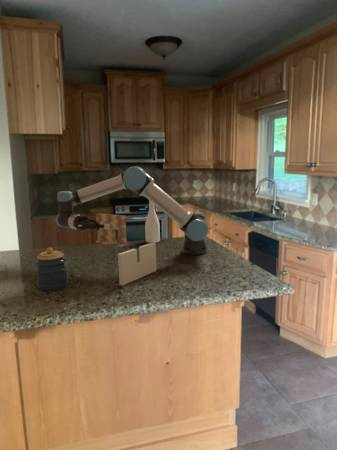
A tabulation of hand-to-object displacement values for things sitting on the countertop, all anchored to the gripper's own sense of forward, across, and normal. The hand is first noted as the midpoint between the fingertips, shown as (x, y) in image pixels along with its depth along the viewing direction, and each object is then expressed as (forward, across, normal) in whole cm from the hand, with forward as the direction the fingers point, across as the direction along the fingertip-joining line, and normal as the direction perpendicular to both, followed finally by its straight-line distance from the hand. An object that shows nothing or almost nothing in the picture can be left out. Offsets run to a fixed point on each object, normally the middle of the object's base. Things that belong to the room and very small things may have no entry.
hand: (111, 226), depth 164 cm
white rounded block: (-22, -59, -23) cm, 67 cm away
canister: (-8, +29, -23) cm, 38 cm away
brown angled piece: (0, 0, -8) cm, 8 cm away
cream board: (+16, 0, -23) cm, 28 cm away
